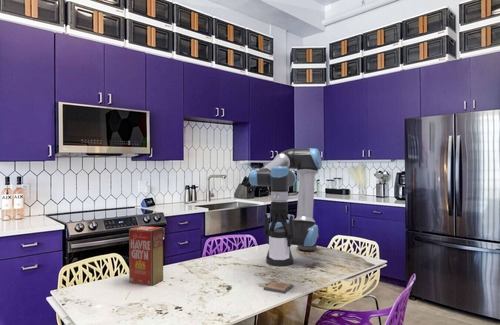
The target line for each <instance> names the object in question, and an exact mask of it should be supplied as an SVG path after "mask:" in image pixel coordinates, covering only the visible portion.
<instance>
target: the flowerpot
mask: <svg viewBox="0 0 500 325" xmlns="http://www.w3.org/2000/svg"><path fill="white" fill-rule="evenodd" d="M315 225H317V222H316V221H315ZM318 239H319V234H318V236H317V240H316V243H315V244H314V245H313V246H298V245H297V248H298V250H299V251H302V252H314V251H315V250H316V249H317V241H318Z"/></svg>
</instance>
